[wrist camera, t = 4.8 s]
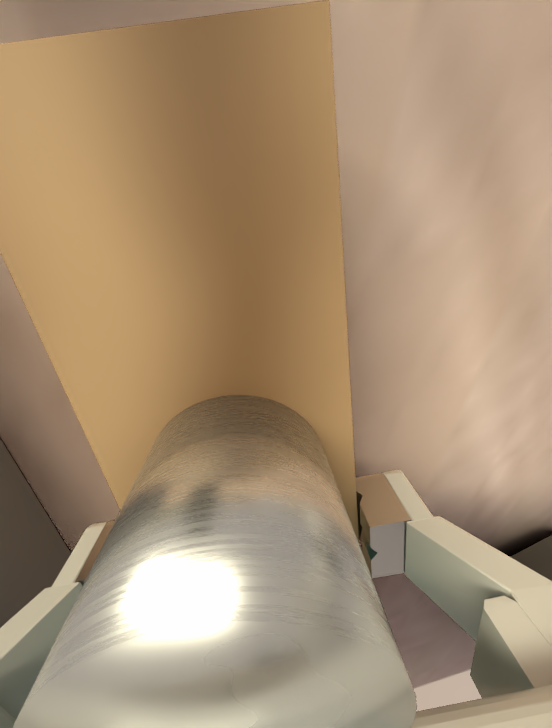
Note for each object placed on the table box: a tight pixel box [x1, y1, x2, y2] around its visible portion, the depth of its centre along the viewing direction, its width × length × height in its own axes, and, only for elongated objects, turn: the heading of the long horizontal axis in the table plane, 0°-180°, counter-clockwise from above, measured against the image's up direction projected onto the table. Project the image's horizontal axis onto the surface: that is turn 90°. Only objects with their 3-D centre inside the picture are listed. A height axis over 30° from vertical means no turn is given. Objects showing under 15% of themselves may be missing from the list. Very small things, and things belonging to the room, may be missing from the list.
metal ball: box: [13, 395, 417, 728], centre depth 5 cm, size 4×4×4 cm
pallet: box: [0, 0, 359, 543], centre depth 9 cm, size 6×20×4 cm, turn 8°
